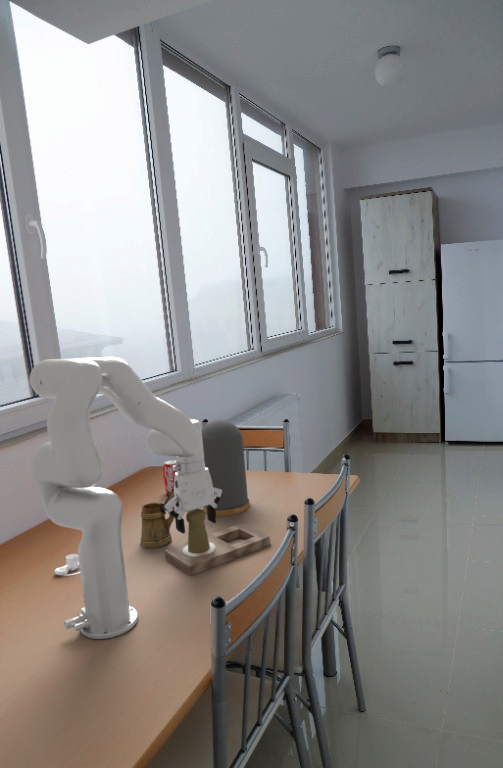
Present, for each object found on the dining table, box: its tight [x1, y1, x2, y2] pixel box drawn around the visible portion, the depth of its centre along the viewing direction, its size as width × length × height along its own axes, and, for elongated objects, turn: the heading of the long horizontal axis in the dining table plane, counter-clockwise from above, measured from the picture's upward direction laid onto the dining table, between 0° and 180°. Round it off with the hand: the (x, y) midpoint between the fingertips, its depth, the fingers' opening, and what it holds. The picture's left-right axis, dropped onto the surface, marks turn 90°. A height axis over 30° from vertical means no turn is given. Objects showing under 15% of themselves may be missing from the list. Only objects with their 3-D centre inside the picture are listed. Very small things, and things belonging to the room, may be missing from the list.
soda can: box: [162, 458, 177, 496], centre depth 219 cm, size 7×7×12 cm
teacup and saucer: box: [54, 553, 81, 577], centre depth 162 cm, size 9×8×4 cm
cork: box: [185, 508, 210, 553], centre depth 161 cm, size 6×6×11 cm
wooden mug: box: [140, 489, 176, 549], centre depth 175 cm, size 9×14×18 cm, turn 81°
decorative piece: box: [201, 419, 250, 517], centre depth 198 cm, size 16×16×30 cm
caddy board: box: [164, 522, 271, 577], centre depth 166 cm, size 26×14×3 cm, turn 126°
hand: (196, 526), depth 161 cm, fingers open, 9 cm apart
